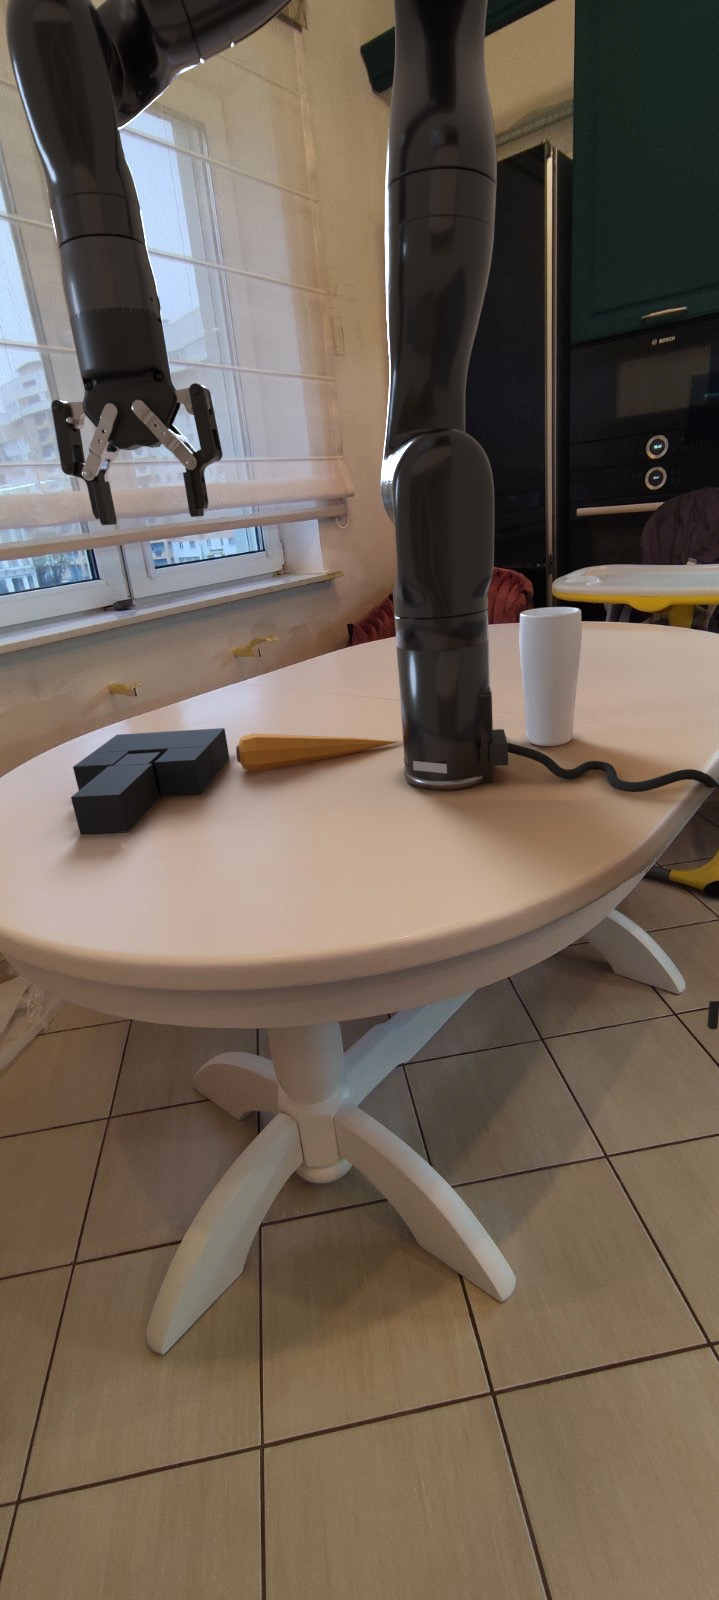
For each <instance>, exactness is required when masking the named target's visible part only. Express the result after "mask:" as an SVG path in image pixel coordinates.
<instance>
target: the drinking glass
mask: <svg viewBox="0 0 719 1600" xmlns="http://www.w3.org/2000/svg"><path fill="white" fill-rule="evenodd" d="M518 624H519V625H518V627H519V628H518V650H519V662H520V673H521V683H522V695H523V707H524V717H525V718H524V719H525V739H526V740H527V741H528V742H529V743H530V744H533V745H535V746H540V747H555V746H556V747H557V746H562V745H565V744H568V743H569V742H570V741H571V740H572V739H573V735H574V718H575V717H574V716H575V708H576V707H575V706H576V699H577V690H578V680H579V671H580V663H581V653H582V640H583V636H582V635H583V628H582V627H583V621H582V609H580V608H578V607H572V606H552V607H551V606H550V607H549V606H548V607H547V606H546V607H536V608H530V609H527V610H523V611H521V612H520V613H519V623H518Z"/></svg>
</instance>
